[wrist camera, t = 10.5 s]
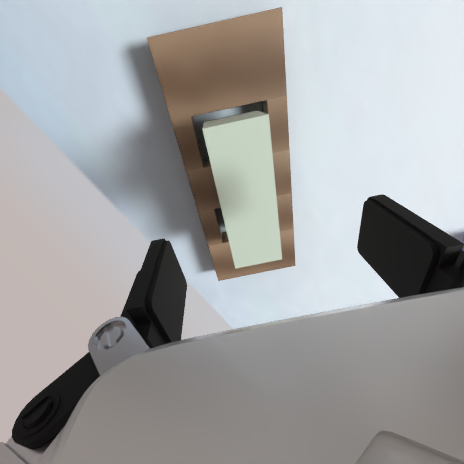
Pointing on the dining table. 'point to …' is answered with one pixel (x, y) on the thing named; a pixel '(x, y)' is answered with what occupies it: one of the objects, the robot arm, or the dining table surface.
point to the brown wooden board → (223, 97)
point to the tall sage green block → (245, 185)
